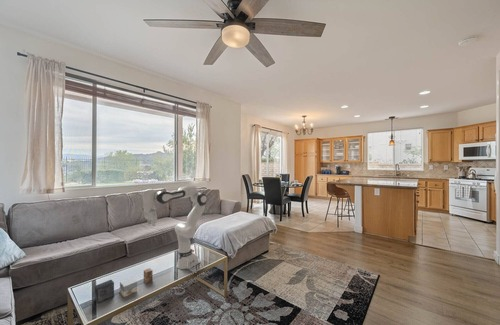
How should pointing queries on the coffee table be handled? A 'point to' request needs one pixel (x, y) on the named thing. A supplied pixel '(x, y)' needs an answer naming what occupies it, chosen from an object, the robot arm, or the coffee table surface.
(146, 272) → the walnut block
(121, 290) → the tower base
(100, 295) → the small box
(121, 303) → the coffee table surface
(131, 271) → the coffee table surface
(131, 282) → the tower top
